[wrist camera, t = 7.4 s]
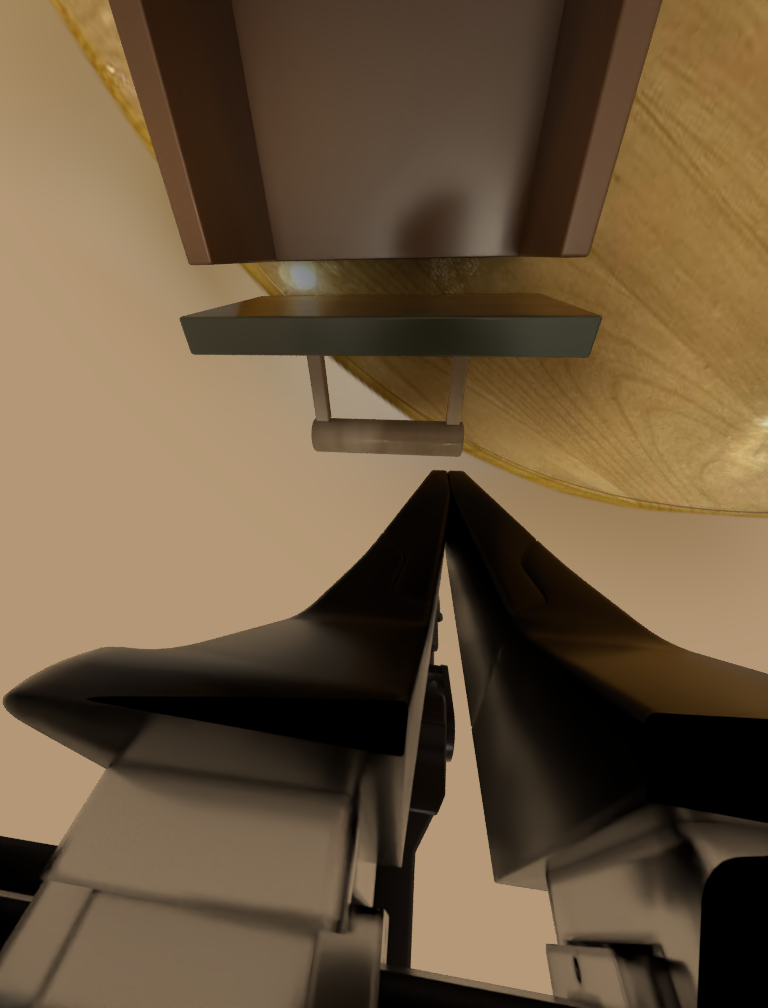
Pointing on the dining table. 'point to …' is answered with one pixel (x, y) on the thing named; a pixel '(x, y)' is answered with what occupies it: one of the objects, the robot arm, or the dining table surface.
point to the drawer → (387, 168)
